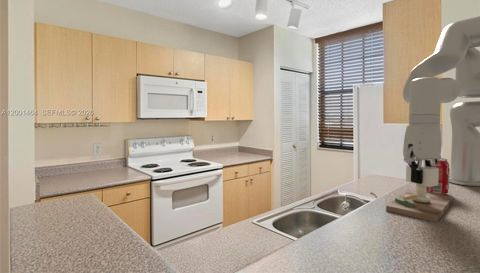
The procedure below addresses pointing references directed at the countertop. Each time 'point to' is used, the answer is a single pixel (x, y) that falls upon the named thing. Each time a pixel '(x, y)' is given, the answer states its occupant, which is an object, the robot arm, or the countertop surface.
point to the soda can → (441, 178)
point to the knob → (423, 183)
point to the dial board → (421, 206)
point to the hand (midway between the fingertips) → (421, 181)
